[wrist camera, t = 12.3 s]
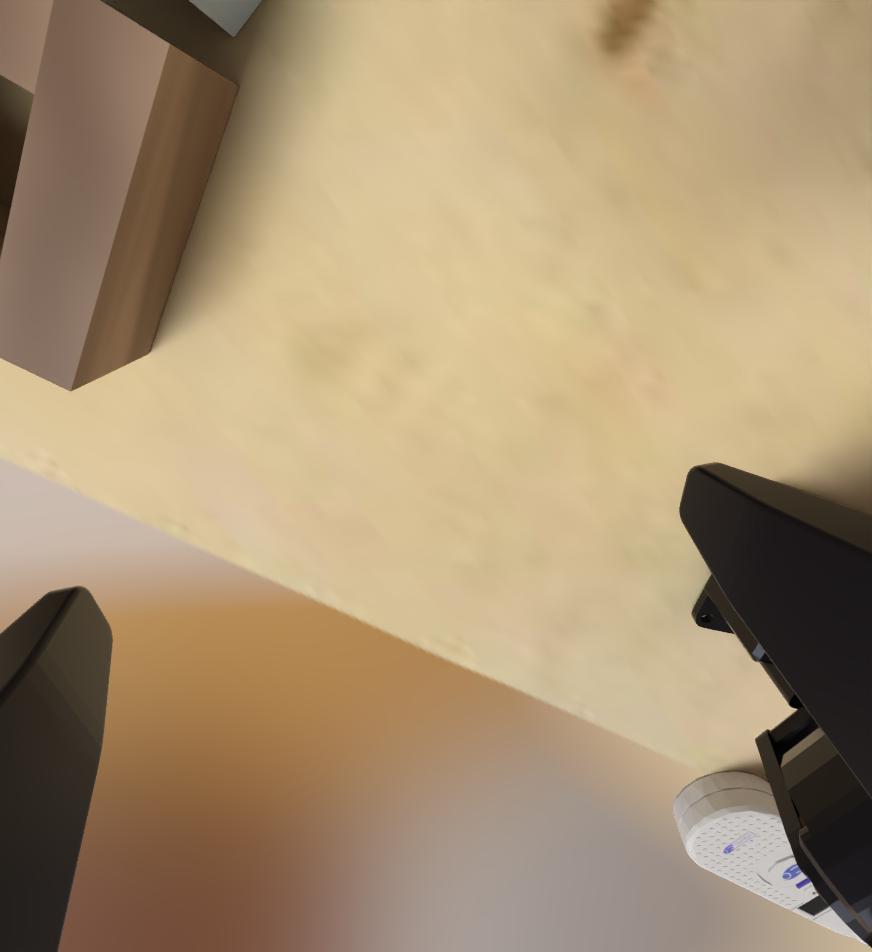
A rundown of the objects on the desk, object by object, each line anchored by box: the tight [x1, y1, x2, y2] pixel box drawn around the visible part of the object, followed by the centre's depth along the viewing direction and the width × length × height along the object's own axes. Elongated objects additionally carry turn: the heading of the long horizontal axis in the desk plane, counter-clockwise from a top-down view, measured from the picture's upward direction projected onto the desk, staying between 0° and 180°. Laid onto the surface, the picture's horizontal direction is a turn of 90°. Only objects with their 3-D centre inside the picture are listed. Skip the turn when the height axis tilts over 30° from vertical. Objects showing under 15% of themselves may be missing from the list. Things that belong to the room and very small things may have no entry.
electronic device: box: [673, 771, 868, 945], centre depth 27 cm, size 5×10×15 cm
